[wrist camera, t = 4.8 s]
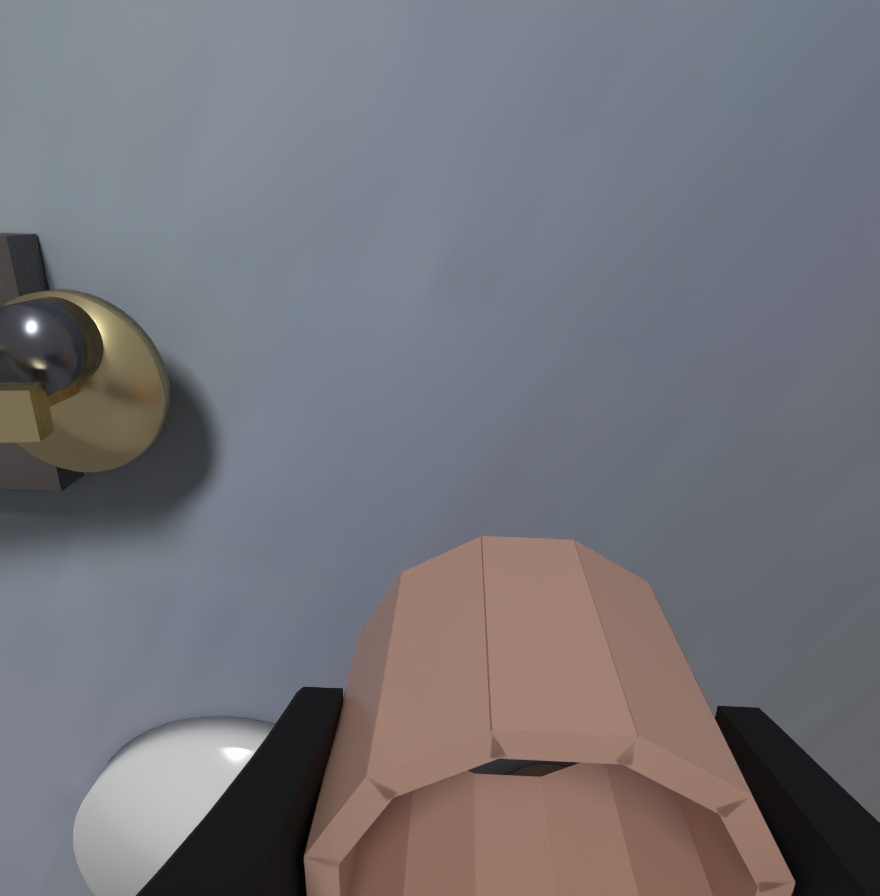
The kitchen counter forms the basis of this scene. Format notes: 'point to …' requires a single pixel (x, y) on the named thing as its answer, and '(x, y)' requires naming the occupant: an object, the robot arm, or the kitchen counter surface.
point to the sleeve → (531, 743)
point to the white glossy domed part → (157, 797)
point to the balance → (70, 378)
